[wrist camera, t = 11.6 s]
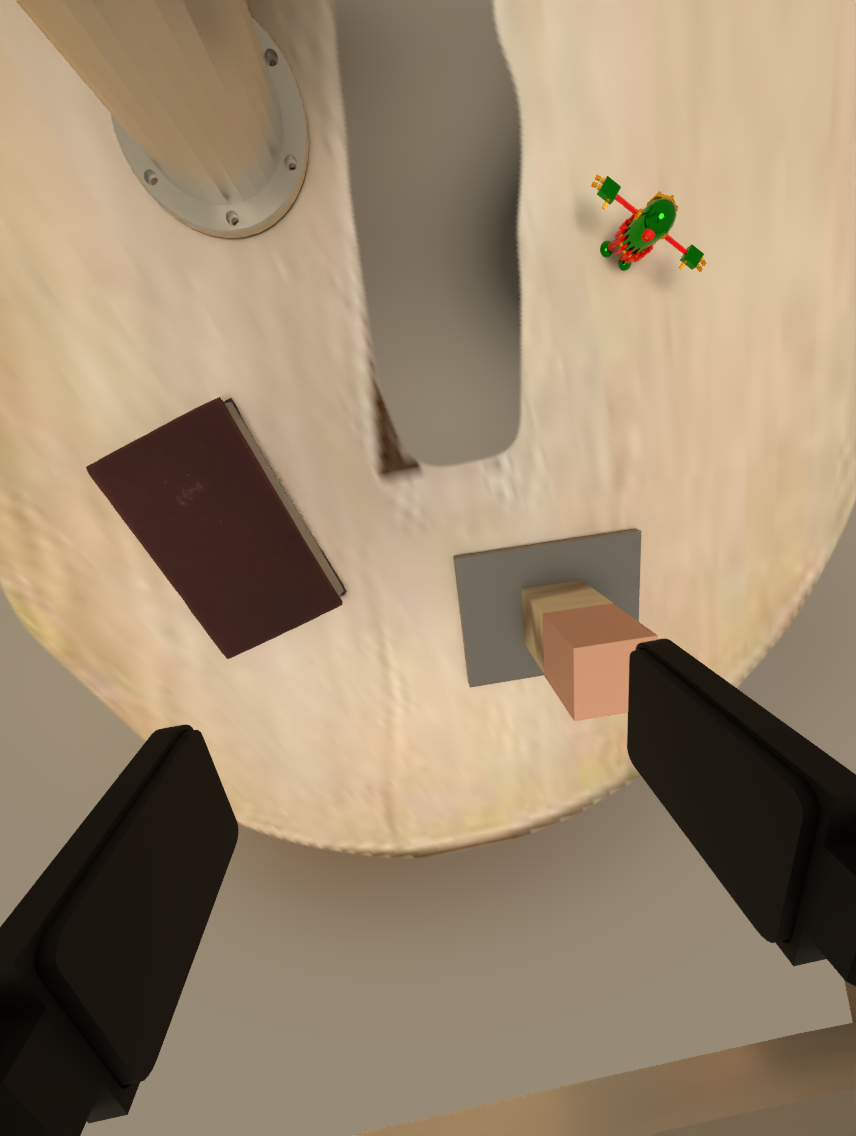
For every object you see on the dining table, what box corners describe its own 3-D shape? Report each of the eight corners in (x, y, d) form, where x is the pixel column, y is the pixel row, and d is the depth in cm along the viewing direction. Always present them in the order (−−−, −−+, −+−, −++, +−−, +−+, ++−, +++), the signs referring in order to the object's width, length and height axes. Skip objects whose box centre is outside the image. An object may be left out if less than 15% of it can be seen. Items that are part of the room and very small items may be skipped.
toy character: (638, 351, 35) (693, 330, 29) (524, 270, 33) (556, 228, 26) (716, 220, 33) (795, 166, 26) (600, 122, 30) (656, 36, 24)
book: (236, 647, 40) (223, 664, 37) (104, 466, 34) (75, 468, 31) (348, 591, 39) (345, 604, 36) (234, 398, 34) (218, 393, 30)
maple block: (520, 589, 39) (542, 613, 33) (580, 579, 39) (612, 602, 34) (524, 643, 41) (545, 676, 35) (581, 634, 41) (612, 665, 36)
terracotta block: (542, 613, 33) (573, 648, 28) (612, 603, 34) (657, 635, 28) (544, 676, 35) (574, 721, 30) (611, 665, 36) (653, 708, 30)
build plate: (453, 556, 39) (455, 559, 38) (635, 528, 39) (641, 530, 38) (468, 681, 43) (470, 687, 42) (632, 654, 44) (637, 659, 43)
